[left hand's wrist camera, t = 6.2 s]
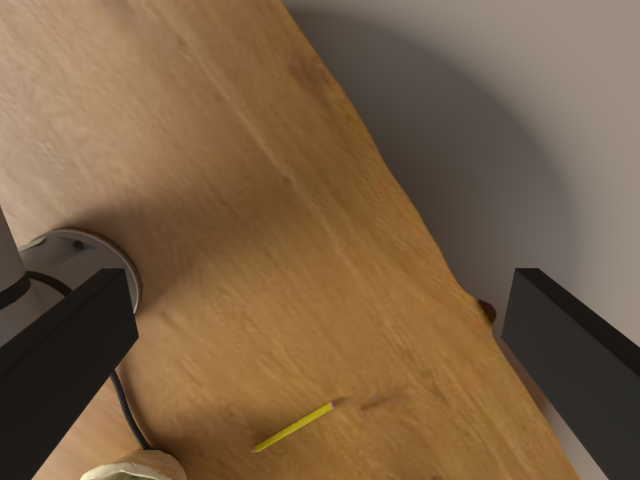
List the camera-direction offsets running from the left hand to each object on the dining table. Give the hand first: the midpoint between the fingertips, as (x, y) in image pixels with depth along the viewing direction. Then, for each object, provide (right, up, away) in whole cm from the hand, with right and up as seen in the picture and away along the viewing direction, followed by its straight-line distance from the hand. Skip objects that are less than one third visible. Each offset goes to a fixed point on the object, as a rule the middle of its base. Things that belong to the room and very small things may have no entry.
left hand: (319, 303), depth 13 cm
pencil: (-5, -27, +46) cm, 53 cm away
